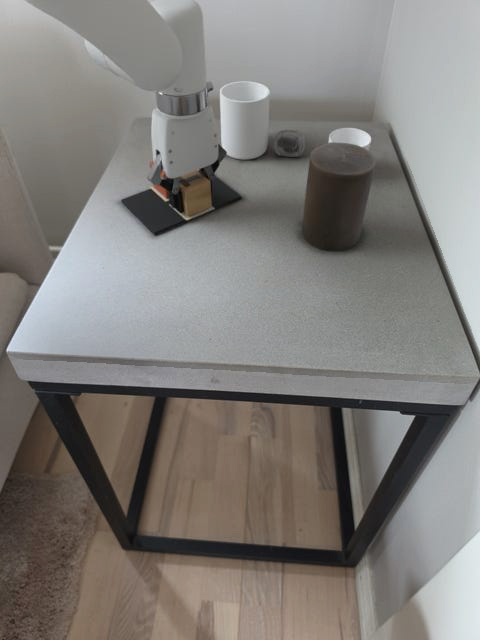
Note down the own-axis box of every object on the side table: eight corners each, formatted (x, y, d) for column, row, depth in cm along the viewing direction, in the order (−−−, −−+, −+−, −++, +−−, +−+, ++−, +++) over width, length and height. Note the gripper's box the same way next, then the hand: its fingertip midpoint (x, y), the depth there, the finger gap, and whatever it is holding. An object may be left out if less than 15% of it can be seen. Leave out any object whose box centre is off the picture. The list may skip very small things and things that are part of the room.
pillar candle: (318, 257, 77) (331, 172, 66) (291, 223, 83) (299, 140, 72) (371, 243, 79) (392, 158, 68) (341, 210, 85) (356, 128, 74)
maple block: (172, 203, 85) (169, 177, 81) (196, 193, 87) (194, 168, 83) (187, 216, 82) (184, 190, 79) (211, 206, 84) (210, 180, 81)
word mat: (155, 236, 80) (155, 233, 80) (120, 201, 87) (119, 198, 87) (242, 199, 88) (242, 196, 87) (203, 169, 95) (203, 166, 94)
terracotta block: (153, 187, 89) (149, 162, 86) (176, 178, 91) (173, 153, 87) (166, 199, 87) (163, 174, 83) (190, 190, 88) (188, 165, 85)
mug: (218, 160, 97) (216, 101, 88) (225, 131, 105) (224, 75, 96) (265, 162, 96) (268, 103, 88) (269, 133, 104) (271, 77, 96)
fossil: (272, 158, 97) (273, 135, 94) (272, 150, 100) (273, 126, 96) (304, 159, 97) (307, 135, 93) (303, 150, 99) (305, 126, 96)
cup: (365, 162, 96) (372, 129, 91) (363, 189, 90) (370, 156, 85) (326, 158, 97) (330, 125, 92) (321, 185, 91) (326, 151, 86)
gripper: (215, 76, 77) (219, 178, 90) (117, 104, 70) (138, 210, 83) (243, 92, 73) (243, 196, 86) (143, 124, 66) (160, 232, 79)
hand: (191, 202), depth 85 cm, fingers closed on maple block, 5 cm apart
